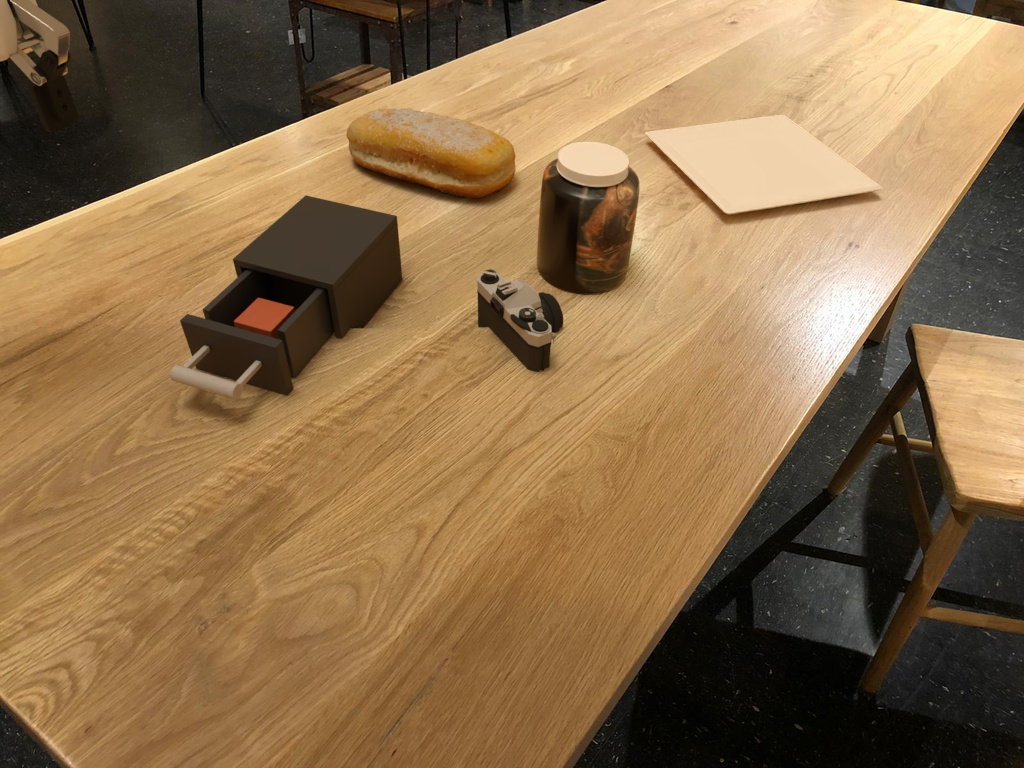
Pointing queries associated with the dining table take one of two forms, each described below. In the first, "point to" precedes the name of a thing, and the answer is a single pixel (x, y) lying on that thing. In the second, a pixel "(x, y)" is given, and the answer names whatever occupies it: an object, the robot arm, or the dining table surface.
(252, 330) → the block
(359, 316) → the cabinet
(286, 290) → the drawer
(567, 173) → the jar
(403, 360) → the dining table surface
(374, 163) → the bread
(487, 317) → the camera
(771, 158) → the plate
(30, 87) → the robot arm
